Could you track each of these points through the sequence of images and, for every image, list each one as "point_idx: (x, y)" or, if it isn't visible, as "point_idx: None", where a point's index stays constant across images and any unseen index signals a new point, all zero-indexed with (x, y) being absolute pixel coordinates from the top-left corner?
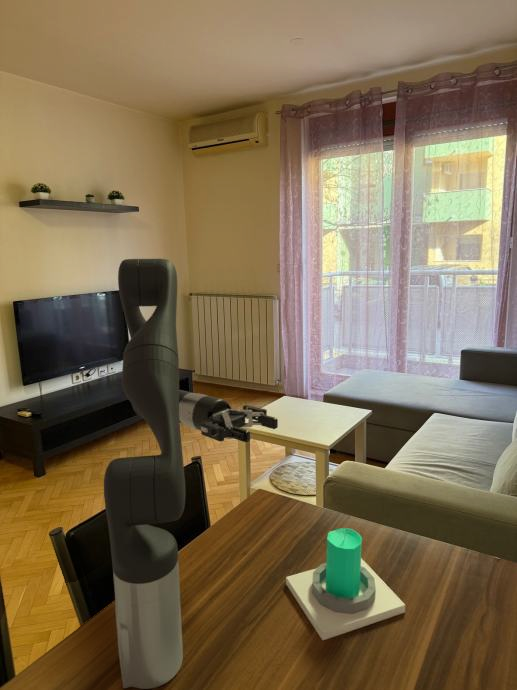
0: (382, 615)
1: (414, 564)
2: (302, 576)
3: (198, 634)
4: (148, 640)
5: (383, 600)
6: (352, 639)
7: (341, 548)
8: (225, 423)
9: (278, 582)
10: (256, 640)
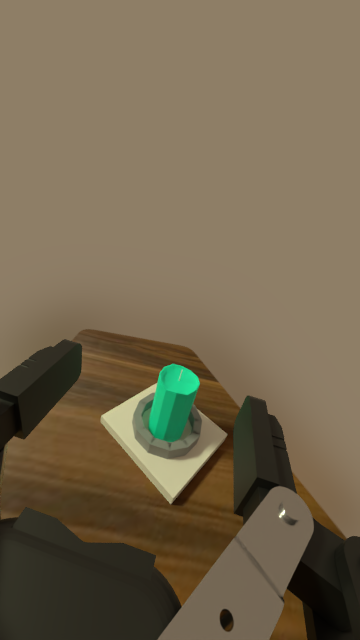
0: None
1: (92, 377)
2: (162, 475)
3: None
4: None
5: None
6: (208, 417)
7: (198, 380)
8: (282, 587)
9: (172, 518)
10: None
